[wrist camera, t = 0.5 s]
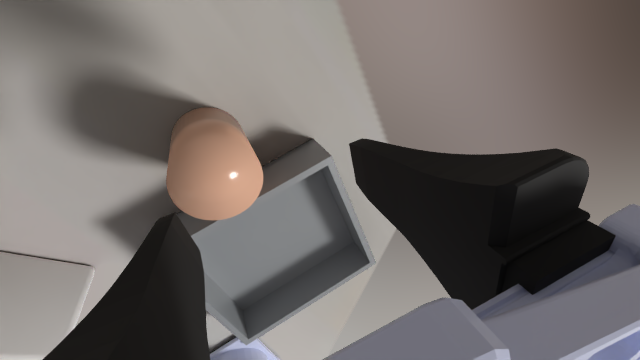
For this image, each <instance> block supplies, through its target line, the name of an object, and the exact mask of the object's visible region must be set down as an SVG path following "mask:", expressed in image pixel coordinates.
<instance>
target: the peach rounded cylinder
mask: <svg viewBox="0 0 640 360" xmlns="http://www.w3.org/2000/svg"><path fill="white" fill-rule="evenodd" d="M166 184H167V190H168V193H169V195H170V197H171V199H172V201H173V202H174V203H175V205H176V206H177V207H178V208H179V209H181V210H182V211H183V212H185V213H186V214H188V215H190V216H192V217H195V218H198V219H203V220H223V219H227V218H231V217H234V216H236V215H238V214H240V213H242V212H243V211H245V210H246V209H247V208H249V207H250V206H251V205H252V204H253V203H254V201H255V200H256V199H257V197H258V196H259V194H260V191H261V189H262V185H263V170H262V167H261V164H260V162H259V160H258V158H257V156H256V154H255V152H254V150H253V148H252V146H251V145H250V143H249V141H248V139H247V137H246V135H245V133H244V131H243V129H242V128H241V126H240V124H239V123H238V121H237V120H236V119H235V118H234V117H233V116H232V115H230V114H229V113H227V112H225V111H223V110H220V109H217V108H212V107H202V108H197V109H193V110H191V111H189V112H187V113H185V114H184V115H183V116H181V117H180V118H179V120H178V121H177V122H176V124H175V125H174V127H173V130H172V134H171V142H170V151H169V160H168V169H167V178H166Z"/></svg>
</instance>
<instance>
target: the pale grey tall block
mask: <svg viewBox="0 0 640 360" xmlns="http://www.w3.org/2000/svg"><path fill="white" fill-rule="evenodd" d="M94 273H95V269H94V267H92V266H86V265H80V264H74V263H68V262H61V261H55V260H49V259H42V258H36V257H30V256H24V255H17V254H11V253H5V252H0V360H42V359H43V358H44V357H46V356H47V355H48V354H49V353H50V352H51V351H52V350H53V349H54V348H55V347H56V346H57V345H58V344H59V343H60V342H61V341H62V340H63V339H64V338H65V337H66V336H67V335H68V334H69V333H70V332H71V331H72V330H73V329H74V328H75V327H76V324H77V321H78V318H79V316H80V313H81V310H82V307H83V304H84V301H85V299H86V296H87V293H88V290H89V287H90V285H91V282H92V279H93V276H94Z"/></svg>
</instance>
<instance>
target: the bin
mask: <svg viewBox="0 0 640 360" xmlns="http://www.w3.org/2000/svg"><path fill="white" fill-rule="evenodd" d="M262 170H263V185H262V189H261V191H260V194H259V196H258V197H257V199H256V200H255V201H254V203H253V204H252V205H251V206H250V207H249V208H247V209H246V210H245V211H243V212H242V213H240V214H238V215H236V216H234V217H231V218H227V219H223V220H203V219H198V218H195V217H192V216H190V215H188V214H186V213H185V212H183V211H182V212H180V213H178V214H177V216H178V217H179V219H180V220H181V222H182V223H183V225H184V226H185V228H186V230H187V231H188V233H189V234H190V236H191V237H192V239H193V240H194V242H195V243H196V245H197V247H198V248H199V250H200V253H201V258H202V263H203V269H204V279H205V306H206V311H208V312H209V313H210V314H211V315H212V316H213V317H214V318H216V319H217V320H218V321H219V322H220V323H221V324H222V325H223V326H225V327H226V328H227V329H228V330H229V331H230V332H231V333H232V334H234V335H235V336H236V337H237V338H238V339H239V340H240V341H242V342H243V343H244V344H245V345H248V344H249V343H251V342H253V341H254V340H256V339H257V338H259V337H260V336H262V335H264V334H265V333H267V332H268V331H270V330H271V329H273V328H275V327H276V326H278V325H279V324H281V323H282V322H284V321H286V320H287V319H289V318H290V317H292V316H294V315H295V314H297V313H298V312H300V311H301V310H303V309H305V308H306V307H308V306H309V305H311V304H312V303H314V302H316V301H317V300H319V299H320V298H322V297H323V296H325V295H327V294H328V293H330V292H331V291H333V290H334V289H336V288H338V287H339V286H341V285H342V284H344V283H345V282H347V281H349V280H350V279H352V278H353V277H355V276H357V275H358V274H360V273H361V272H363V271H364V270H366V269H368V268H369V267H371V266H372V265H374V264H375V263H376V261H375V259H374V256H373V254H372V251H371V249H370V247H369V244H368V242H367V239H366V237H365V235H364V232H363V230H362V227H361V225H360V223H359V220H358V218H357V215H356V213H355V211H354V208H353V206H352V203H351V201H350V199H349V196H348V194H347V191H346V189H345V187H344V184H343V182H342V179H341V177H340V175H339V172H338V170H337V167H336V165H335V163H334V160H333V158H332V156H331V155H330V154H329V153H328V152H327V151H326V150H325V149H324V148H323V147H322V146H321V145H320V144H318V143H317V142H316V141H315V140H314V139H311V140H309V141H308V142H306V143H304V144H302V145H300V146H299V147H297V148H295V149H293V150H291V151H290V152H288V153H286V154H284V155H283V156H281V157H279V158H277V159H275V160H274V161H272V162H270V163H268V164H266V165H265V166H263V167H262Z"/></svg>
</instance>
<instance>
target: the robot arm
mask: <svg viewBox="0 0 640 360" xmlns="http://www.w3.org/2000/svg"><path fill="white" fill-rule="evenodd" d="M349 146H350V151H351V157H352V162H353V168H354V173H355V179H356V184H357V185H358V186H359V188H360V189H361V191H362V192H363V193H364V195H365V196H366V197H367V199H368V200H369V201H370V202H371V203H372V204H373V205H374V206H375V207H376V208H377V209H378V210H379V211H380V212H381V213H382V214H383V215H384V216H385V217H386V218H387V219H388V220H389V221H390V222H391V223H392V224H393V225H394V226H395V227H396V228H397V229H398V230H399V231H400V232H401V233H402V234H403V235H404V236H405V237H406V239H407V240H408V241H409V242H410V243H411V245H412V246H413V247H414V248H415V250H416V251H417V252H418V253H419V255H420V256H421V257H422V258H423V260H424V261H425V262H426V264H427V265H428V266H429V268H430V269H431V270H432V272H433V273H434V274H435V275H436V277H437V278H438V280H439V281H440V283H441V284H442V285H443V287H444V288H445V290H446V291H447V292H448V294H449V295H450V297H451V298H440V299H437V300H434V301H432V302H429V303H426V304H423V305H421V306H420V307H418V308H416V309H414V310H412V311H410V312H409V313H407V314H405V315H403V316H401V317H399V318H398V319H396V320H394V321H392V322H390V323H389V324H387V325H385V326H383V327H381V328H379V329H378V330H376V331H374V332H372V333H370V334H368V335H367V336H365V337H363V338H361V339H359V340H357V341H356V342H354V343H352V344H350V345H348V346H347V347H345V348H343V349H341V350H339V351H337V352H335V353H334V354H332V355H330V356H328V357H326V358H324V359H323V360H640V206H638V205H635V204H632V205H628V206H626V207H625V208H623V209H621V210H619V211H617V212H616V213H614V214H612V215H610V216H609V217H607V218H606V219H604V220H603V221H602V222H601V223H600V225H599V226H597V225H595V224H593V223H591V222H590V221H587V220H588V219H589V218H590V214H589V213H588V212H586V211H584V210H582V209H580V208H578V206H579V204H580V201H581V198H582V196H583V193H584V190H585V187H586V184H587V181H588V177H589V167H588V164H587V163H586V161H585V160H584V159H583V158H581V157H578V156H575V155H573V154H570V153H568V152H565V151H563V150H559V149H549V150H540V151H532V152H523V153H510V154H492V155H491V154H490V155H465V154H448V153H437V152H429V151H423V150H416V149H411V148H406V147H401V146H396V145H391V144H387V143H383V142H378V141H374V140H369V139H360V140H357V141H355V142H352V143H350V144H349ZM42 360H280V359H279V358H278V357H277V356H276V355H274V354H273V353H272V352H271V351H270V350H269V349H268V348H267V347H266V346H265V345H264V344H263V343H262V342H261V341H260V340H259V339H258V338H257V339H256V340H254V341H253V342H251V343H249V344H248V345H245V344H244V343H243V342H242V341H240V340H239V339H238V338H237V337H236V338H234V339H233V340H231V341H230V342H228V343H227V344H225V345H223V346H222V347H220V348H219V349H217V350H215V351H214V352H212V353H211V354H209V347H208V340H207V330H206V306H205V279H204V269H203V263H202V258H201V253H200V250H199V248H198V247H197V245H196V243H195V242H194V240H193V239H192V237H191V236H190V234H189V233H188V231H187V230H186V228H185V226H184V225H183V223H182V222H181V220H180V219H179V217H178V216H177V214H176V213H173V214H170V215H168V216H165V217H163V218H160V219H158V221H157V222H156V223H155V225H154V226H153V228H152V229H151V231H150V232H149V234H148V235H147V237H146V238H145V240H144V242H143V243H142V245H141V246H140V248H139V249H138V251H137V252H136V254H135V255H134V257H133V258H132V260H131V261H130V262H129V264H128V265H127V266H126V268H125V269H124V271H123V272H122V273H121V275H120V276H119V277H118V279H117V280H116V281H115V283H114V284H113V285H112V287H111V288H110V289H109V290H108V292H107V293H106V294H105V295H104V296H103V298H102V299H101V300H100V301H99V302H98V303H97V305H96V306H95V307H94V308H93V309H92V310H91V311H90V312H89V314H88V315H87V316H86V317H85V318H84V319H83V320H82V321H81V322H80V323H79V324H78V325H77V326H76V327H75V328H74V329H73V330H72V331H71V332H70V333H69V334H68V335H67V336H66V337H65V338H64V339H63V340H62V341H61V342H60V343H59V344H58V345H57V346H56V347H55V348H54V349H53V350H52V351H51V352H50V353H49V354H48V355H47V356H46V357H44V358H43V359H42Z"/></svg>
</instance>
